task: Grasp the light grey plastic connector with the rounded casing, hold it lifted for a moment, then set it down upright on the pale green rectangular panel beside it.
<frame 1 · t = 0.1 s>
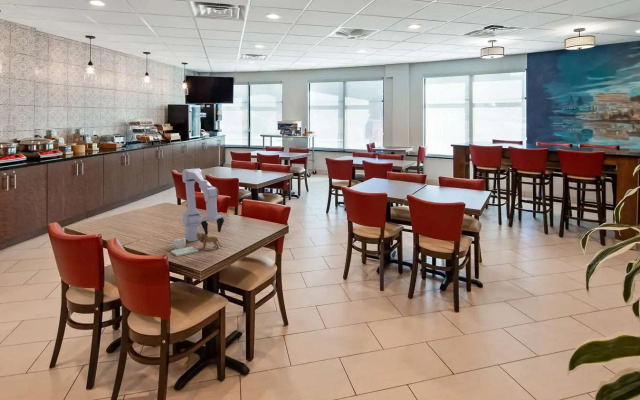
hand: (212, 233, 223), 10 cm above the table, tool pointing down, fingers open, 7 cm apart
lion figurine: (208, 247, 229), on the table
pale green rectangular panel: (184, 252, 221), on the table
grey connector: (179, 247, 229), on the table
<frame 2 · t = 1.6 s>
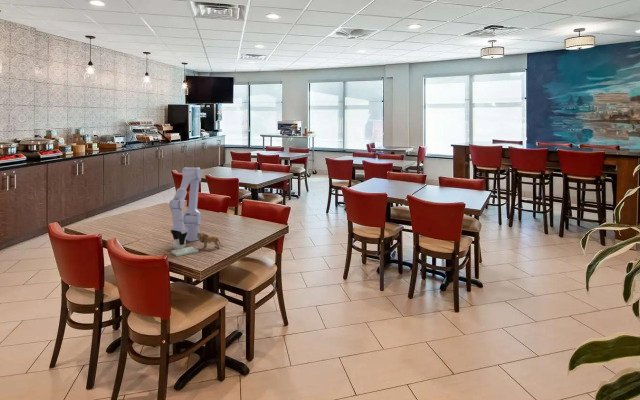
hand: (179, 243, 228), 3 cm above the table, tool pointing down, fingers open, 7 cm apart
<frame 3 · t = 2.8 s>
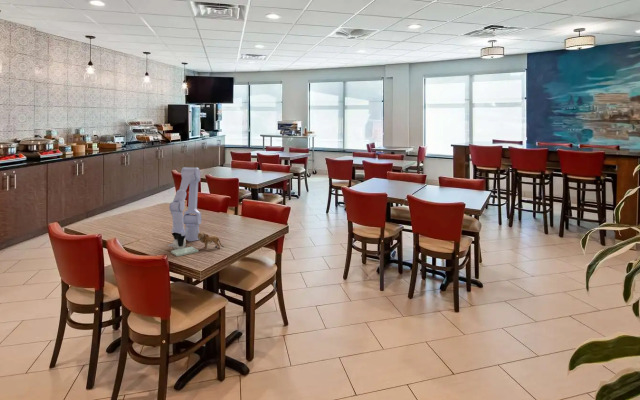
hand: (179, 245, 228), 1 cm above the table, tool pointing down, fingers closed on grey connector, 3 cm apart
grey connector: (179, 247, 229), on the table, touching gripper
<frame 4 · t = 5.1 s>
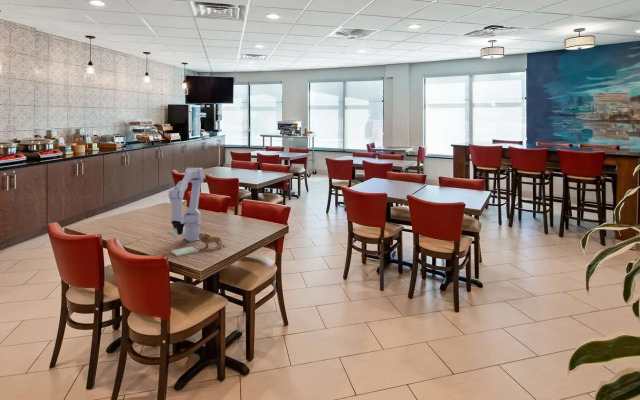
hand: (178, 233, 227), 8 cm above the table, tool pointing down, fingers closed on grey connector, 3 cm apart
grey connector: (178, 236, 227), point 7 cm above the table, touching gripper
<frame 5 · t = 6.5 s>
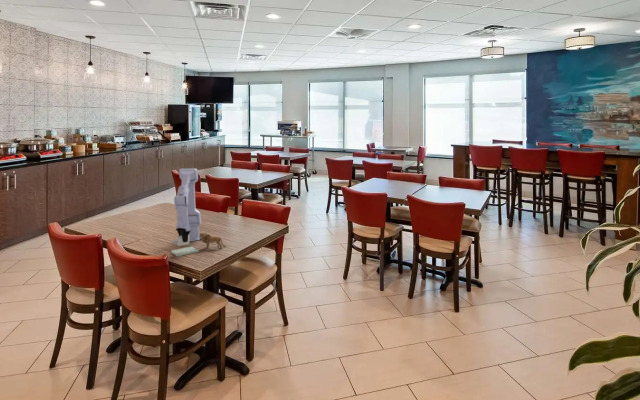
hand: (184, 241, 220), 6 cm above the table, tool pointing down, fingers closed on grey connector, 3 cm apart
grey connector: (183, 244, 220), point 5 cm above the table, touching gripper
when the fingers open (4 cm above the table, at t = 7.7 s): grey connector drops 1 cm, resting on pale green rectangular panel.
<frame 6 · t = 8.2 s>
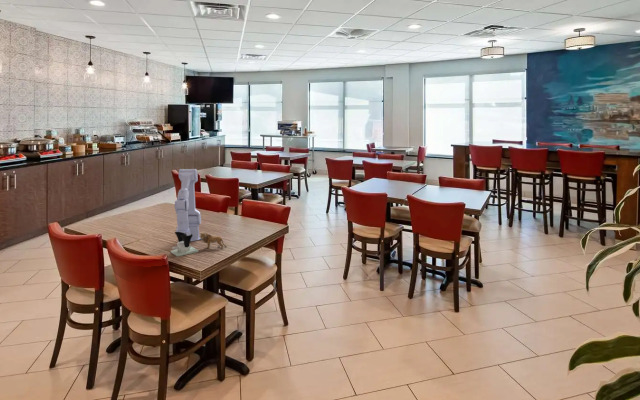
hand: (184, 245, 220), 4 cm above the table, tool pointing down, fingers open, 7 cm apart
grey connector: (183, 250, 220), point 1 cm above the table, touching pale green rectangular panel
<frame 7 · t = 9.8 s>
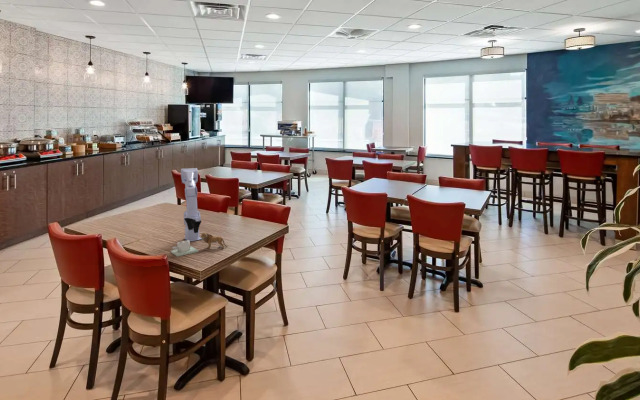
hand: (193, 231, 229), 9 cm above the table, tool pointing down, fingers open, 7 cm apart
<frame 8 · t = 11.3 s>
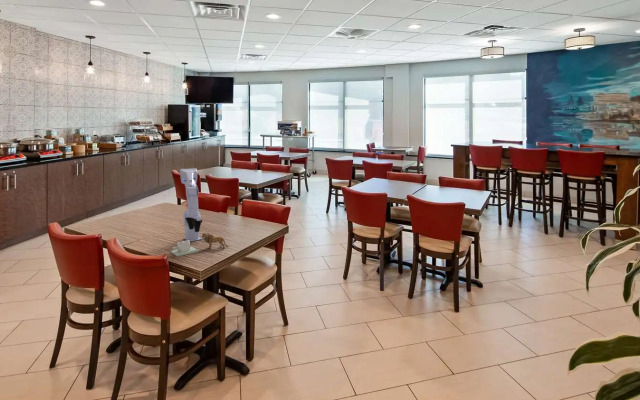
hand: (194, 230, 230), 9 cm above the table, tool pointing down, fingers open, 7 cm apart
at the end: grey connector inside the target area (0.4 cm from its centre), point 1.0 cm above the table; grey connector tilted 0°; the gripper is holding nothing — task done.
